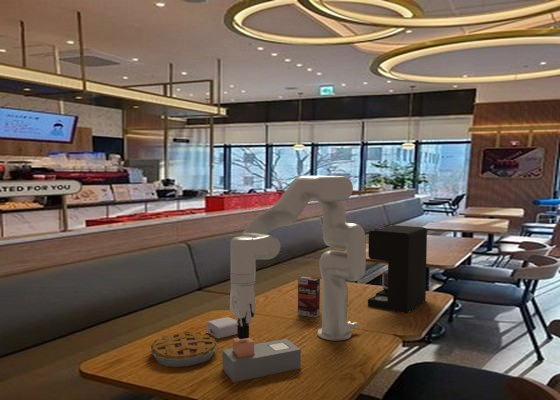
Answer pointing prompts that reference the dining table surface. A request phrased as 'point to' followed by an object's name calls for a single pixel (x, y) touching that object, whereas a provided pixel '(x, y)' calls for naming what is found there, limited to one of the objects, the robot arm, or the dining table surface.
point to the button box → (261, 361)
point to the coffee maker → (400, 266)
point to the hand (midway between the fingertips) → (243, 337)
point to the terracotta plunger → (243, 347)
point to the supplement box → (308, 296)
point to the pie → (183, 349)
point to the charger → (222, 327)
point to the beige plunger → (279, 346)
